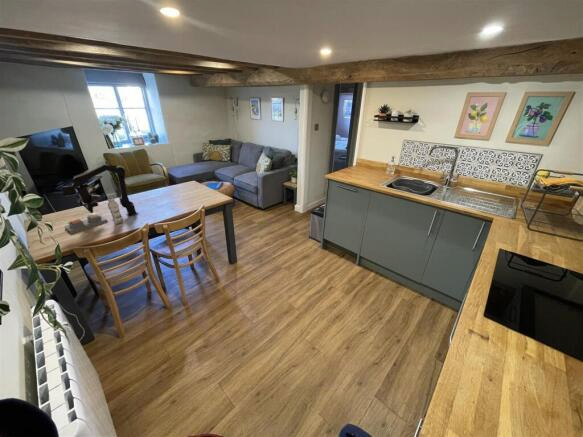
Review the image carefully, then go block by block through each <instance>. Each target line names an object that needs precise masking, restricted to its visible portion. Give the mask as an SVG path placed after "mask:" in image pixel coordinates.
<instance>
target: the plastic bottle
mask: <svg viewBox="0 0 583 437" xmlns="http://www.w3.org/2000/svg"><path fill="white" fill-rule="evenodd" d="M107 202H108V203H107V208H108V209H109V211H110V213H111V218H112V222H113V223H114V224H115V225H118V224H122V223H123V222H124V218H123V216H122V214H121V210H120V207H119V203H118V202H117V201H115V198H114V197H108V198H107Z"/></svg>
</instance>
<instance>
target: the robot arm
mask: <svg viewBox="0 0 583 437" xmlns="http://www.w3.org/2000/svg"><path fill="white" fill-rule="evenodd" d="M106 171H108V172H111V173H113V174H114V173H116V175H117V178H118V184H119V189H120V193H121V196H119V197H118V199H119V203H120V205H121V207H123V208H125V210H126V212H127V213H126V216H128V217H133V216H136V215H138V214H139V213H138V212H137V211H136V206H135V205H134V202H132V201H130V199H129V196H128V193H127V186H126V181H125V177H126V170H125V167H124V166H123V165H114V164H108V163H103V164H102V165H100V166H98V167H96V168H93V169H92V170H90V171H88V172H86V173H80V174H77V175H75V176H73V180H72V181H73V183H72V184H71V185H65V186H64V185H63V186H61V189H62V194H63V195H64V197H69V196H76V194H77V193H78V197H79V198H77V202H78V203H79V204H81V203H82V204H81V206H82V207H83V208H84V209H86V210H87V212H88V213H89V214H91V213H94V208H96V207H99V202H97V201H101V200H102V196H101V195H99V194H97V192H92V193H90V191H89V189H88V188H90V184H89V183H87V182H88V181H89V180H90V179H92V178H94V177H96V176H98V175H100V174H102V173H104V172H106Z"/></svg>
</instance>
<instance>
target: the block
mask: <svg viewBox="0 0 583 437" xmlns="http://www.w3.org/2000/svg"><path fill="white" fill-rule="evenodd" d="M86 218H87V219H83V220H82V219H80V222H78V223H75V224H71V222H70V221H69V222H68V225H67V224H66V225H65V226H64V229H65V230H67V231H68V232H69V233H70V234H75V233H78V232H81V231H83V230H87V229H90V228H93V227H96V226H98V225H99V226H100V225H102V224H104V223H108V222H109V221H108V219H107V218H105V216H104V217H103V216H102V215H100V214H98V217H94V218H89V216H88V215H87V216H86Z"/></svg>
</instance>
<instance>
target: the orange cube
mask: <svg viewBox="0 0 583 437" xmlns="http://www.w3.org/2000/svg"><path fill="white" fill-rule="evenodd" d="M80 220H81V219H80V218H78V217H75V218H71V219H69V222H71V224H75V223H78V222H80Z"/></svg>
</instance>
